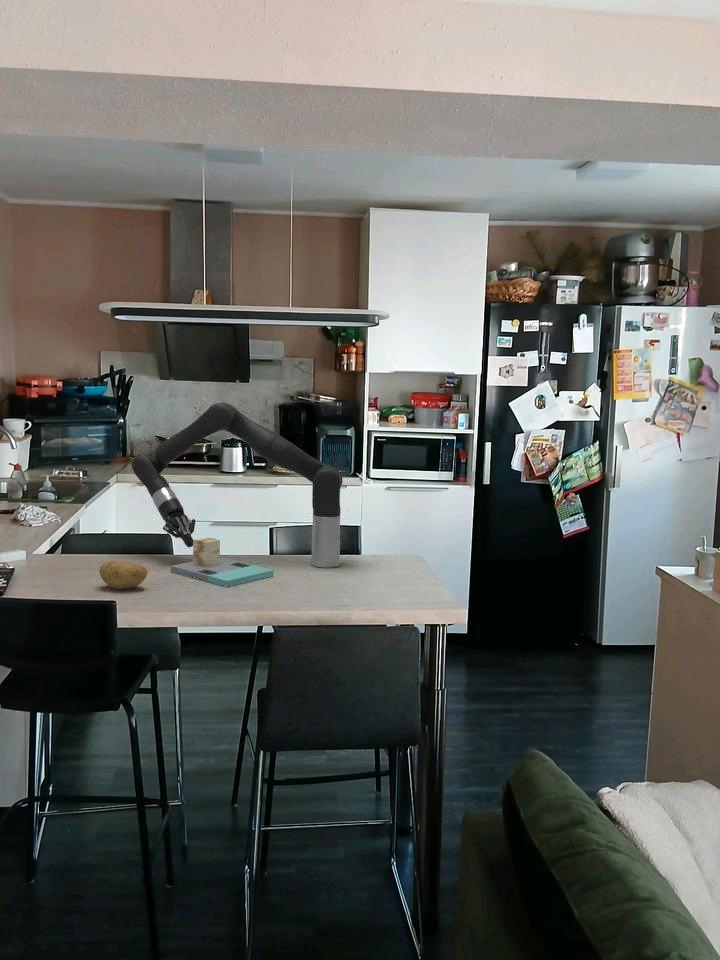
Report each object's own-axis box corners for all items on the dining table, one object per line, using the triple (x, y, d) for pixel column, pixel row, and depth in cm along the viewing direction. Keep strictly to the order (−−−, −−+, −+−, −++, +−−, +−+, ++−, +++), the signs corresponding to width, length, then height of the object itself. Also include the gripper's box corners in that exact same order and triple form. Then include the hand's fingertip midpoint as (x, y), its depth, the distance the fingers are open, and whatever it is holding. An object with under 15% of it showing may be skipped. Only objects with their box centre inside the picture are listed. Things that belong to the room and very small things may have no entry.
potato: (140, 594, 250) (140, 567, 249) (93, 590, 252) (93, 563, 251) (152, 586, 260) (152, 559, 259) (107, 582, 262) (107, 556, 261)
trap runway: (170, 572, 277) (170, 565, 277) (217, 562, 293) (217, 556, 293) (227, 587, 262) (227, 580, 261) (273, 576, 277) (273, 570, 277)
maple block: (193, 563, 281) (193, 539, 280) (207, 560, 286) (207, 537, 285) (205, 567, 277) (205, 542, 276) (219, 564, 282) (219, 539, 281)
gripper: (156, 499, 284) (181, 541, 278) (188, 495, 294) (212, 536, 289) (146, 513, 288) (170, 555, 282) (177, 508, 298) (201, 549, 293)
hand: (191, 545), depth 285 cm, fingers closed
